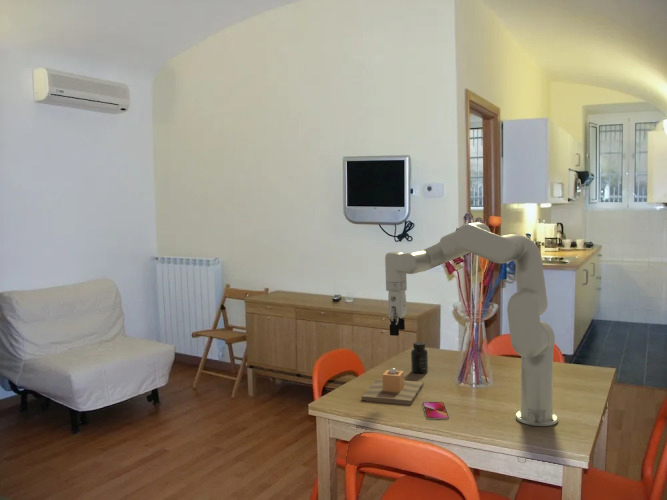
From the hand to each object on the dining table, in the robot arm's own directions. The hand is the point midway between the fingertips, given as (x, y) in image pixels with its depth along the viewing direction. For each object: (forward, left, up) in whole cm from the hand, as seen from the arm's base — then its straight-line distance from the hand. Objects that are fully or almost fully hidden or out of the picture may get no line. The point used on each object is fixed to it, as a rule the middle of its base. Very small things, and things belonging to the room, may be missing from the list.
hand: (397, 332), depth 216 cm
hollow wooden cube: (-1, +2, -21) cm, 21 cm away
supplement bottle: (+28, -2, -23) cm, 36 cm away
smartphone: (-16, -16, -23) cm, 32 cm away
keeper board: (-1, +2, -23) cm, 23 cm away
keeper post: (-1, +2, -21) cm, 21 cm away
